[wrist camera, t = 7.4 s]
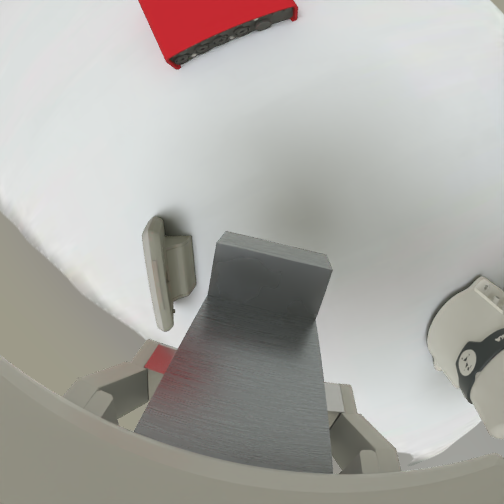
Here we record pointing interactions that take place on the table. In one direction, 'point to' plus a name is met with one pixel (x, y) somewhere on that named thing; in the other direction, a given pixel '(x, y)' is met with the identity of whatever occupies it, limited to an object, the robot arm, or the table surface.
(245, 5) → the red device housing
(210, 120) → the table surface
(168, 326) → the digital clock
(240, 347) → the bracket
